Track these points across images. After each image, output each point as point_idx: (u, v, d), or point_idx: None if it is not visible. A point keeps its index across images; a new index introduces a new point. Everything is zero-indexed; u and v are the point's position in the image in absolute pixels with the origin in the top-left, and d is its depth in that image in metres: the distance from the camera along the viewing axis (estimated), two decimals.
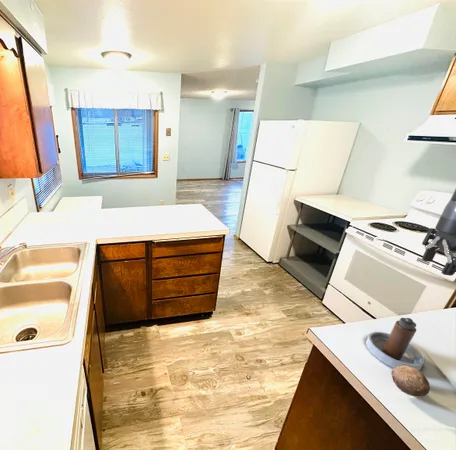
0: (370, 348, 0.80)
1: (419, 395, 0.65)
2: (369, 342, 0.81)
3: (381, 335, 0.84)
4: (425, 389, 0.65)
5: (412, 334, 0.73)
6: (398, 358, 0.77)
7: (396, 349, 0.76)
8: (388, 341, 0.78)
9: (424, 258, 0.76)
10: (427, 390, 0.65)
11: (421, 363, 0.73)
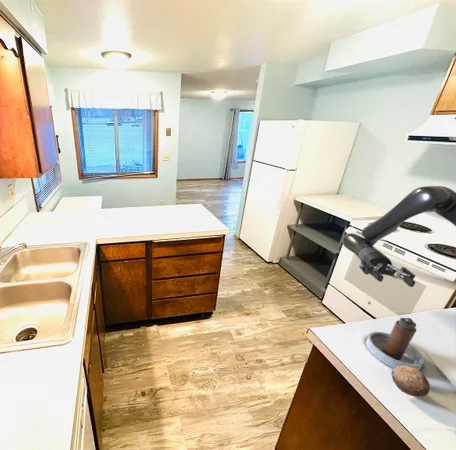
0: (370, 348, 0.80)
1: (419, 395, 0.65)
2: (369, 342, 0.81)
3: (381, 335, 0.84)
4: (425, 389, 0.65)
5: (412, 334, 0.73)
6: (398, 358, 0.77)
7: (396, 349, 0.76)
8: (388, 341, 0.78)
9: (408, 285, 0.81)
10: (427, 390, 0.65)
11: (421, 363, 0.73)
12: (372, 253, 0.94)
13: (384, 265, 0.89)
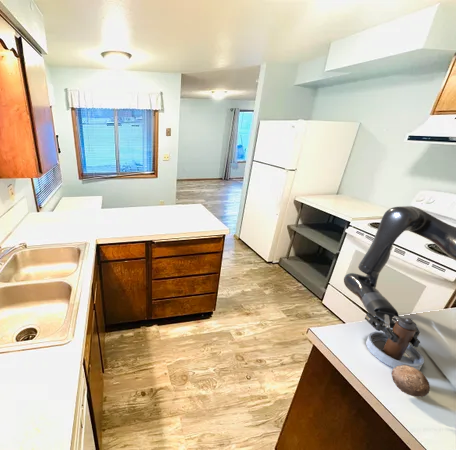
0: (370, 348, 0.80)
1: (419, 395, 0.65)
2: (369, 342, 0.81)
3: (381, 335, 0.84)
4: (425, 389, 0.65)
5: (412, 334, 0.73)
6: (398, 358, 0.77)
7: (396, 349, 0.76)
8: (388, 341, 0.78)
9: (412, 344, 0.74)
10: (427, 390, 0.65)
11: (421, 363, 0.73)
12: (377, 301, 0.87)
13: (390, 316, 0.83)
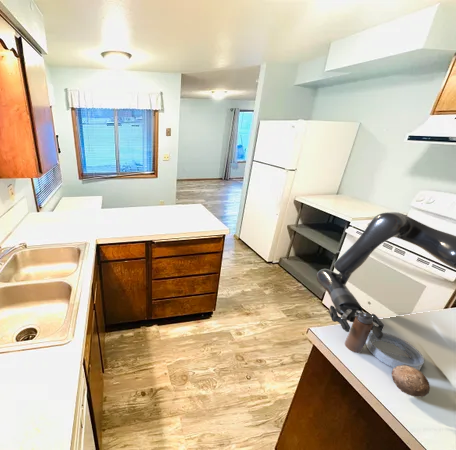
0: (370, 348, 0.80)
1: (419, 395, 0.65)
2: (369, 342, 0.81)
3: None
4: (425, 389, 0.65)
5: (369, 328, 0.76)
6: (358, 351, 0.79)
7: (355, 343, 0.79)
8: (349, 335, 0.81)
9: (376, 337, 0.77)
10: (427, 390, 0.65)
11: (421, 363, 0.73)
12: (342, 296, 0.89)
13: (354, 311, 0.85)
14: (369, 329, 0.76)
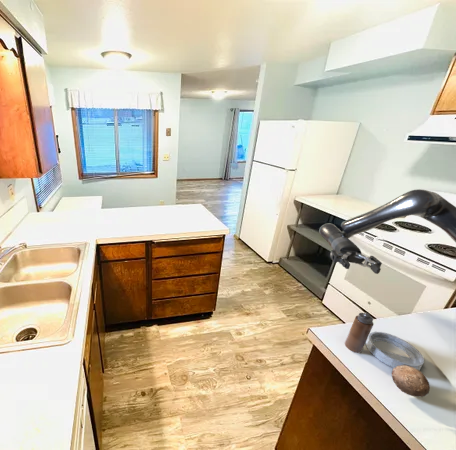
0: (370, 348, 0.80)
1: (419, 395, 0.65)
2: (369, 342, 0.81)
3: (381, 335, 0.84)
4: (425, 389, 0.65)
5: (369, 328, 0.76)
6: (358, 351, 0.79)
7: (355, 343, 0.79)
8: (349, 335, 0.81)
9: (374, 272, 0.82)
10: (427, 390, 0.65)
11: (421, 363, 0.73)
12: (343, 242, 0.95)
13: (353, 254, 0.90)
14: (369, 329, 0.76)
